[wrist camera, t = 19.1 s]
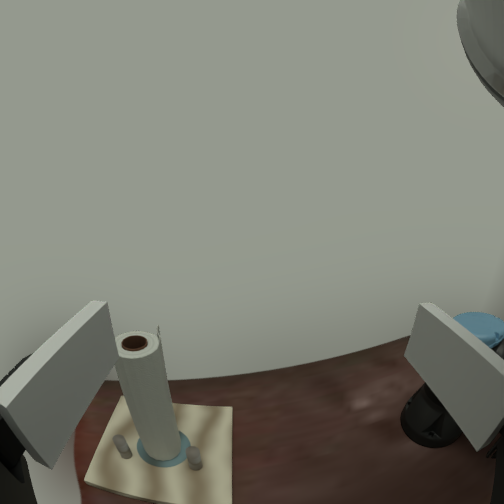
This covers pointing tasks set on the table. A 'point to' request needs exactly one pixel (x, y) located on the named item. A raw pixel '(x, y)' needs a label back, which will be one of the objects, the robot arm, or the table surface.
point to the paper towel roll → (148, 392)
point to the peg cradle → (170, 471)
